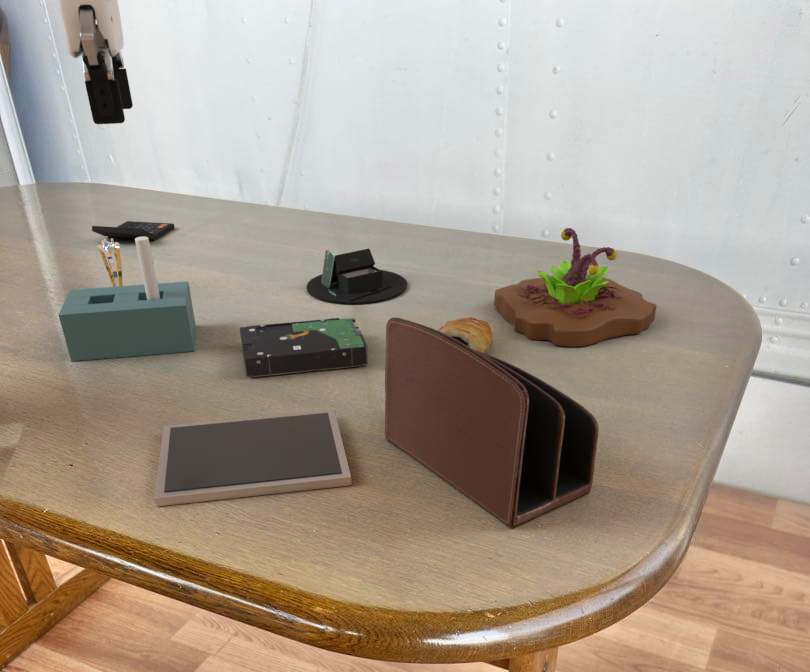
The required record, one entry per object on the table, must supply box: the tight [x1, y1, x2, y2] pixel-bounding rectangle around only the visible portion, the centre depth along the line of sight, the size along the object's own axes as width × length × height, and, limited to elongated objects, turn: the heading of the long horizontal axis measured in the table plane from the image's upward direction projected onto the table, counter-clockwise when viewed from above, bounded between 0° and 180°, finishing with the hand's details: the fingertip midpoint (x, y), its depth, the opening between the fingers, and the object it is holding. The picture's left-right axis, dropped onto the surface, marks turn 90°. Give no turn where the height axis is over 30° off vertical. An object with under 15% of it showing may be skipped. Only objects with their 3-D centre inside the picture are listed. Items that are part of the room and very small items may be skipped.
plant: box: [493, 227, 657, 348], centre depth 108 cm, size 20×20×11 cm
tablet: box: [154, 409, 353, 507], centre depth 81 cm, size 18×14×1 cm
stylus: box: [134, 237, 160, 300], centre depth 102 cm, size 2×2×13 cm
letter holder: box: [384, 317, 600, 530], centre depth 75 cm, size 10×20×14 cm, turn 35°
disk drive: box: [239, 317, 369, 378], centre depth 100 cm, size 10×3×15 cm
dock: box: [58, 281, 197, 362], centre depth 103 cm, size 9×15×6 cm, turn 100°
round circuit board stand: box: [306, 248, 408, 306], centre depth 120 cm, size 15×15×6 cm
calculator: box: [91, 220, 176, 241], centre depth 143 cm, size 9×12×3 cm
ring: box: [95, 238, 124, 287], centre depth 117 cm, size 7×3×8 cm, turn 24°
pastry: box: [437, 316, 493, 354], centre depth 101 cm, size 9×7×4 cm
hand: (114, 115), depth 90 cm, fingers open, 9 cm apart
